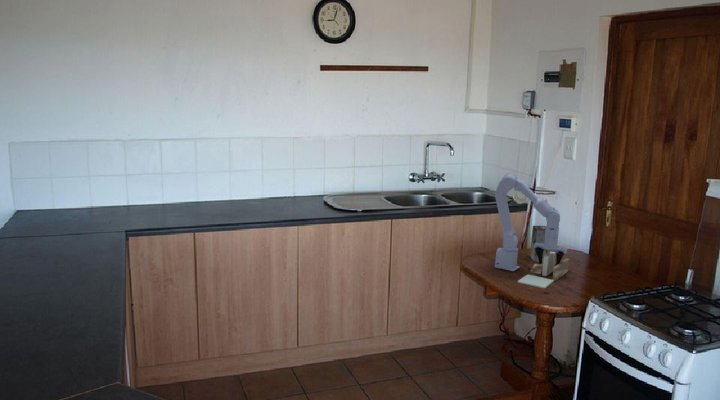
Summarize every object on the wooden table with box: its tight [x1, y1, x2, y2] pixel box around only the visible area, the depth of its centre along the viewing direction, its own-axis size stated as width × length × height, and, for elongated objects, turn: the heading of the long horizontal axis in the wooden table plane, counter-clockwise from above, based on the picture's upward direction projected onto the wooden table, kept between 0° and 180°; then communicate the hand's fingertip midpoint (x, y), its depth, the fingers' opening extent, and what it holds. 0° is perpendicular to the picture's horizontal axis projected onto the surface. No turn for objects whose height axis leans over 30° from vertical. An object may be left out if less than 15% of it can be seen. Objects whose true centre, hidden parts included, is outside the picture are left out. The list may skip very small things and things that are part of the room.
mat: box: [517, 274, 555, 289], centre depth 264 cm, size 12×12×1 cm
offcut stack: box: [530, 263, 543, 275], centre depth 279 cm, size 5×8×2 cm, turn 149°
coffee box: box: [529, 225, 549, 263], centre depth 296 cm, size 9×6×16 cm
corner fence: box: [536, 257, 570, 282], centre depth 277 cm, size 14×19×6 cm
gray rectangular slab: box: [541, 251, 556, 277], centre depth 276 cm, size 2×10×9 cm, turn 145°
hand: (548, 265), depth 276 cm, fingers open, 7 cm apart
